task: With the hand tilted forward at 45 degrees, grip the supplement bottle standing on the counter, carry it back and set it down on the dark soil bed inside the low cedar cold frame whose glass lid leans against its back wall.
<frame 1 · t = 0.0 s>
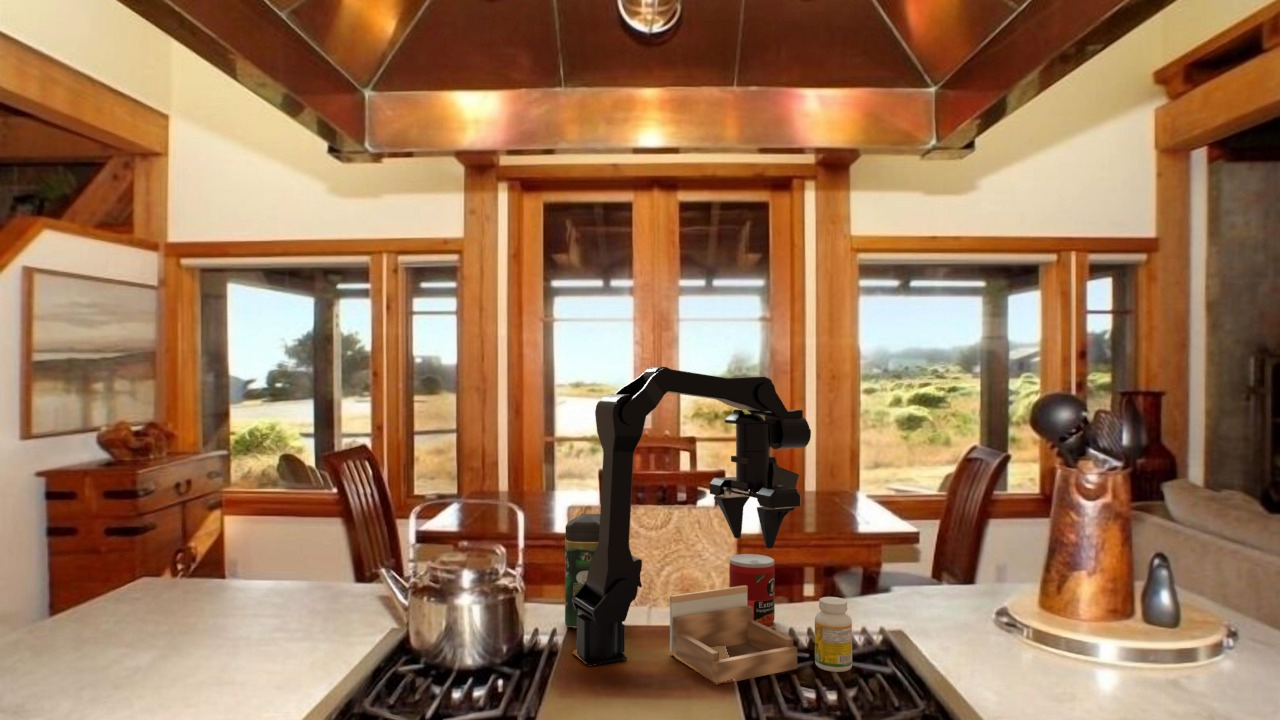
hand: (753, 542, 128), 15 cm above the countertop, fingers open, 9 cm apart
coffee jar: (587, 624, 131), on the countertop
lid panel: (709, 648, 119), on the countertop
cold frame: (734, 662, 113), on the countertop
supplement bottle: (833, 667, 112), on the countertop
canned food: (751, 623, 132), on the countertop
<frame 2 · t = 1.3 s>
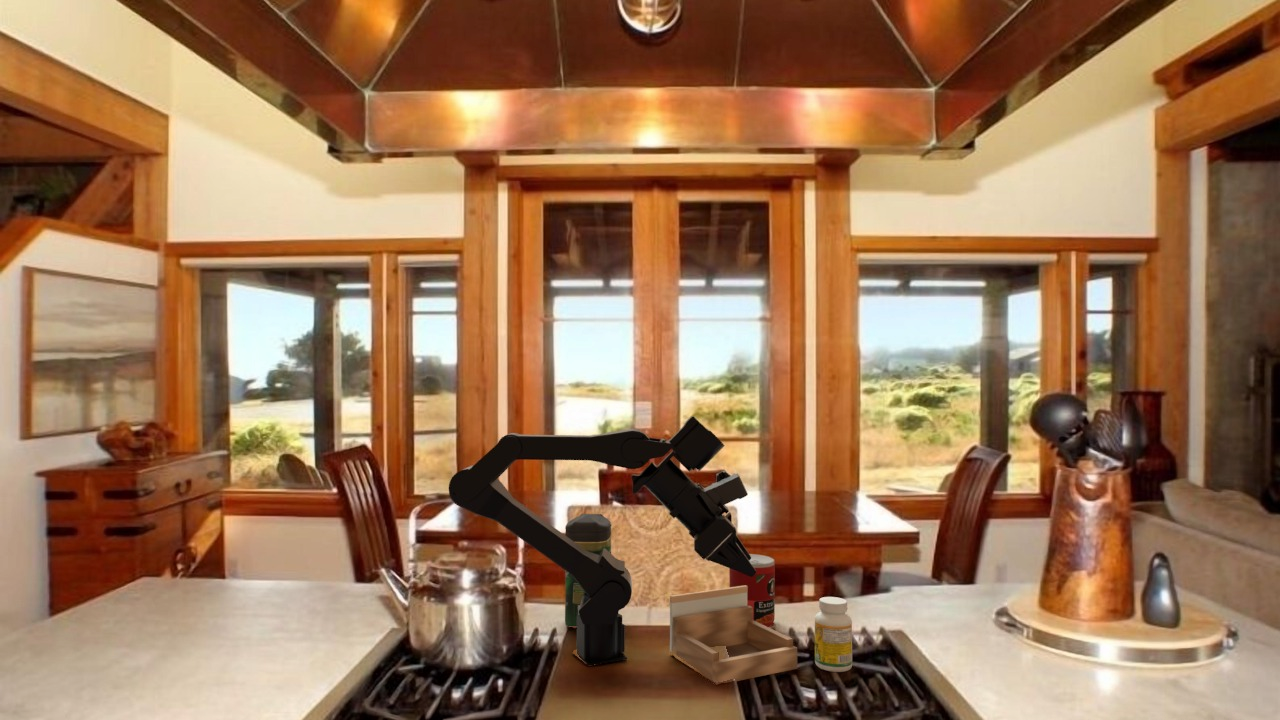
hand: (751, 567, 114), 14 cm above the countertop, fingers open, 9 cm apart
nothing on the countertop moved.
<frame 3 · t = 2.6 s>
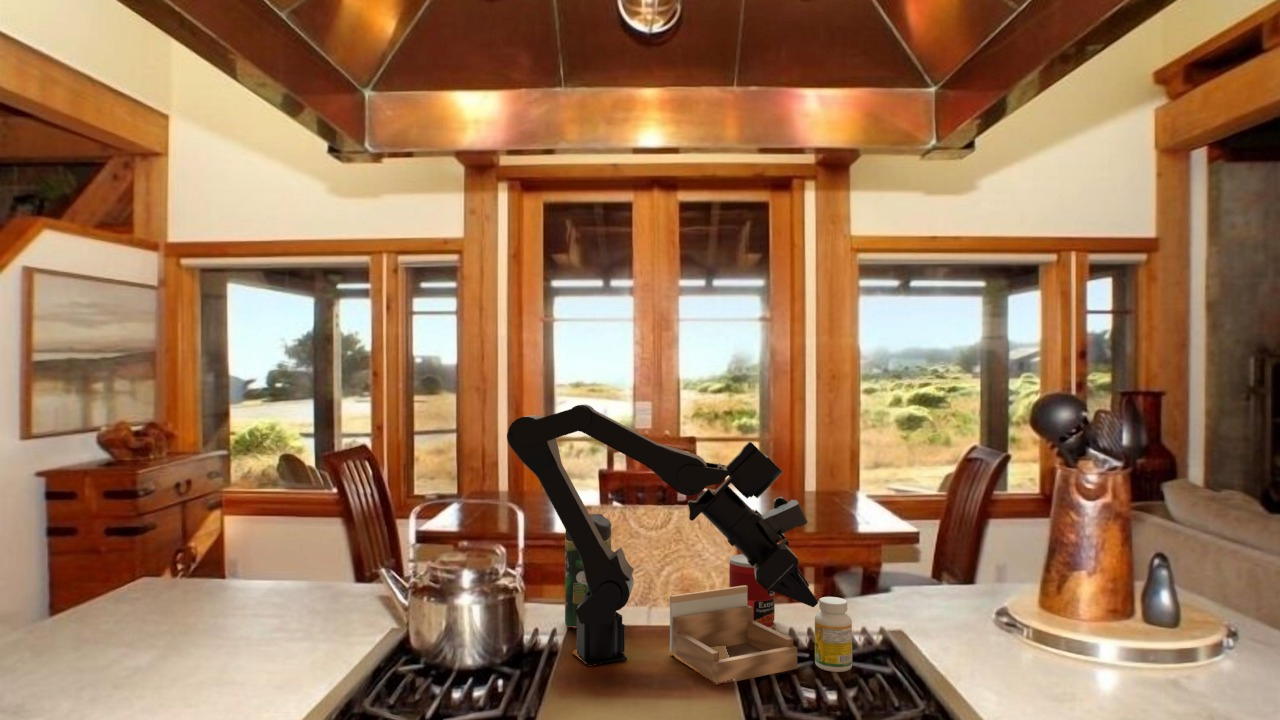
hand: (811, 595, 112), 10 cm above the countertop, fingers open, 9 cm apart
nothing on the countertop moved.
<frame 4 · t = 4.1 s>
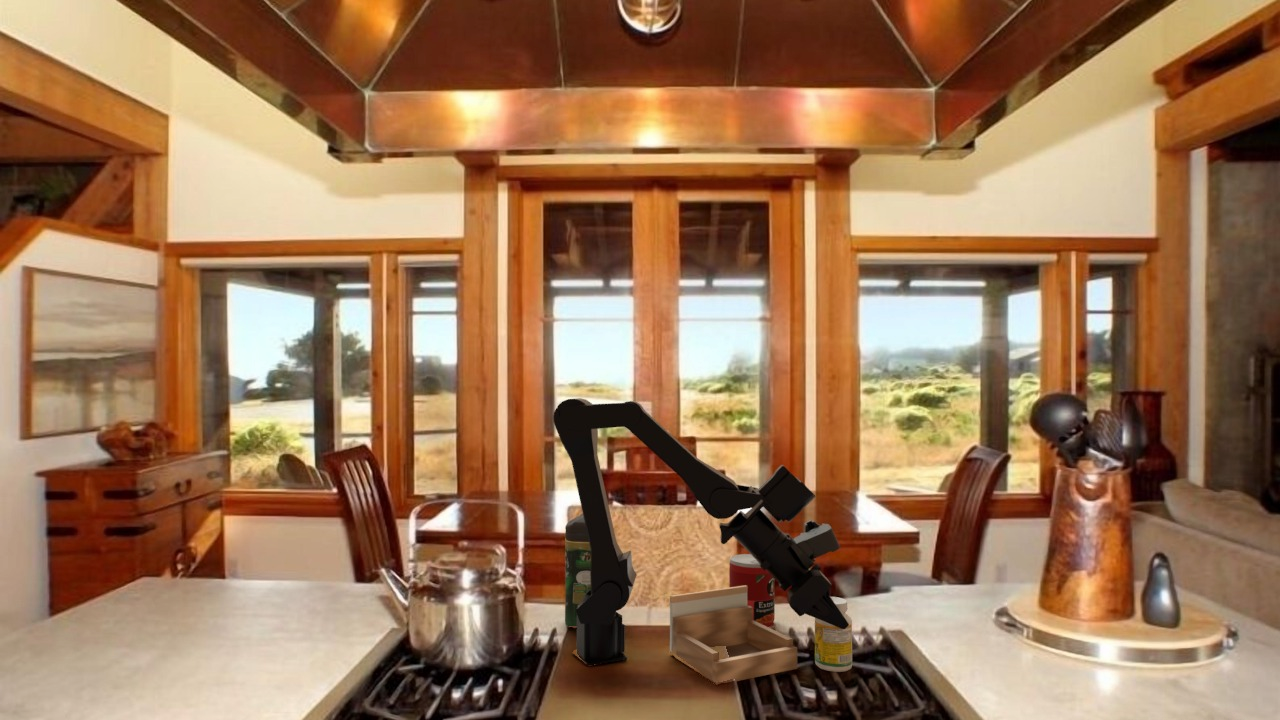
hand: (842, 620, 112), 7 cm above the countertop, fingers closed on supplement bottle, 5 cm apart
supplement bottle: (833, 667, 112), on the countertop, touching gripper
everything else where it was.
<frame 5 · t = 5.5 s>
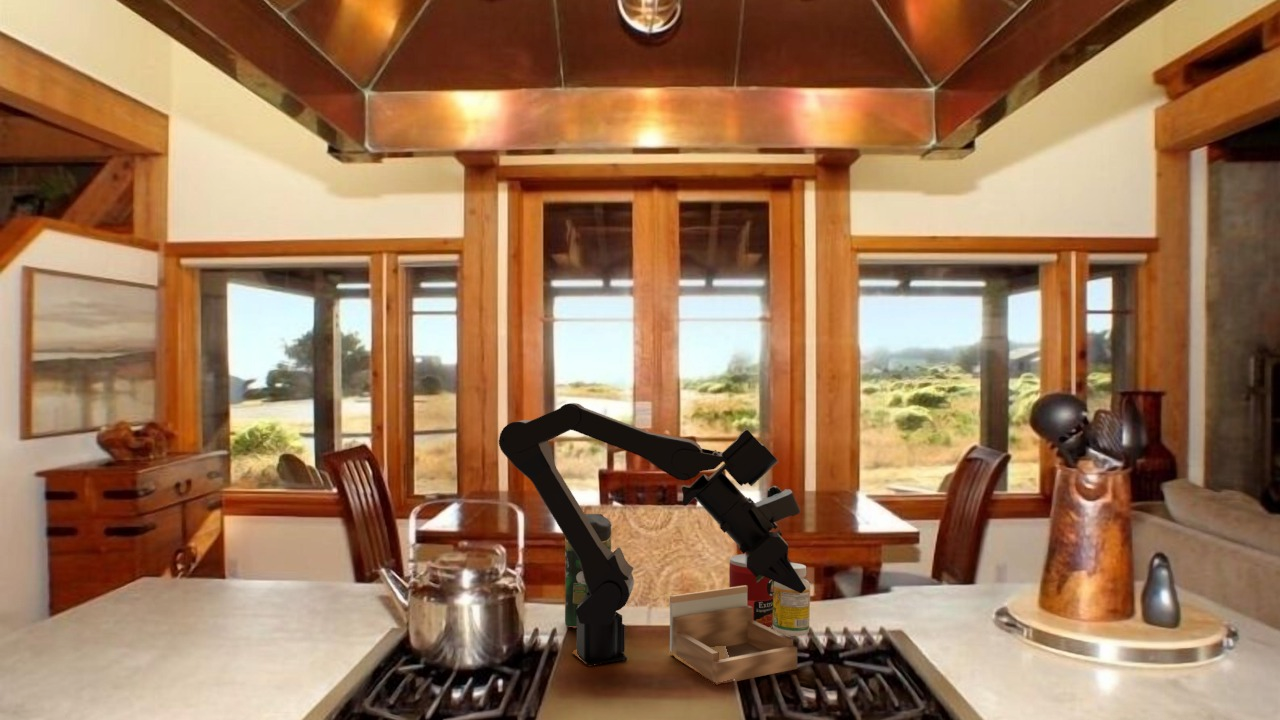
hand: (801, 585, 112), 12 cm above the countertop, fingers closed on supplement bottle, 5 cm apart
supplement bottle: (790, 632, 112), point 5 cm above the countertop, touching gripper
everything else where it was.
when the fingers open (8 cm above the countertop, at t = 7.1 s): supplement bottle stays where it is, resting on cold frame.
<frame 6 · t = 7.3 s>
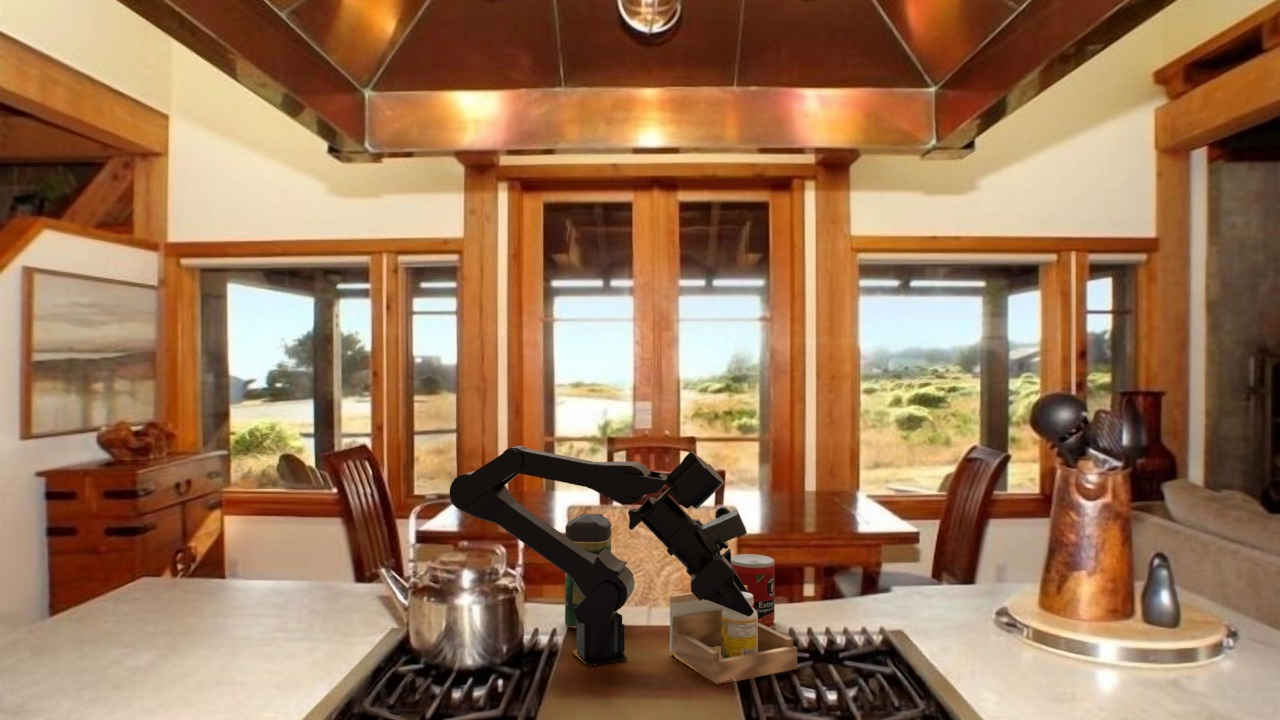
hand: (750, 606, 112), 9 cm above the countertop, fingers open, 7 cm apart
supplement bottle: (739, 661, 112), resting on cold frame
everything else where it was.
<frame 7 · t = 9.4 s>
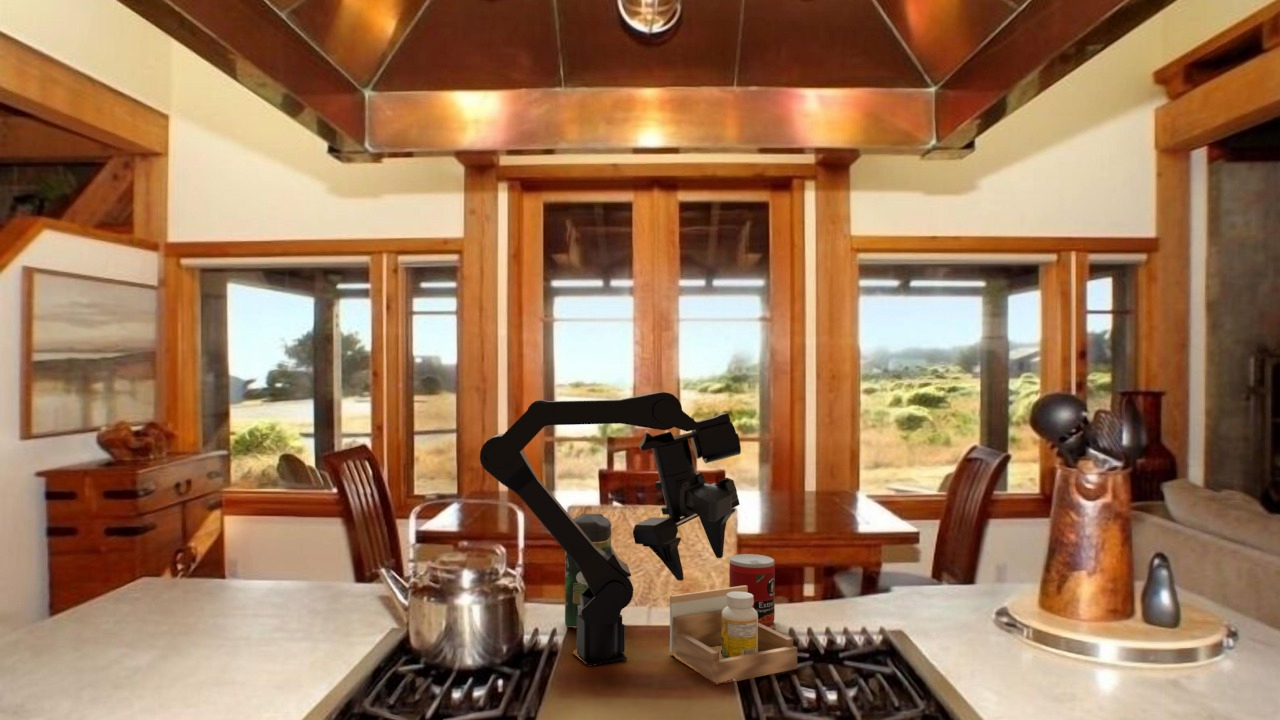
hand: (700, 568, 117), 13 cm above the countertop, fingers open, 9 cm apart
nothing on the countertop moved.
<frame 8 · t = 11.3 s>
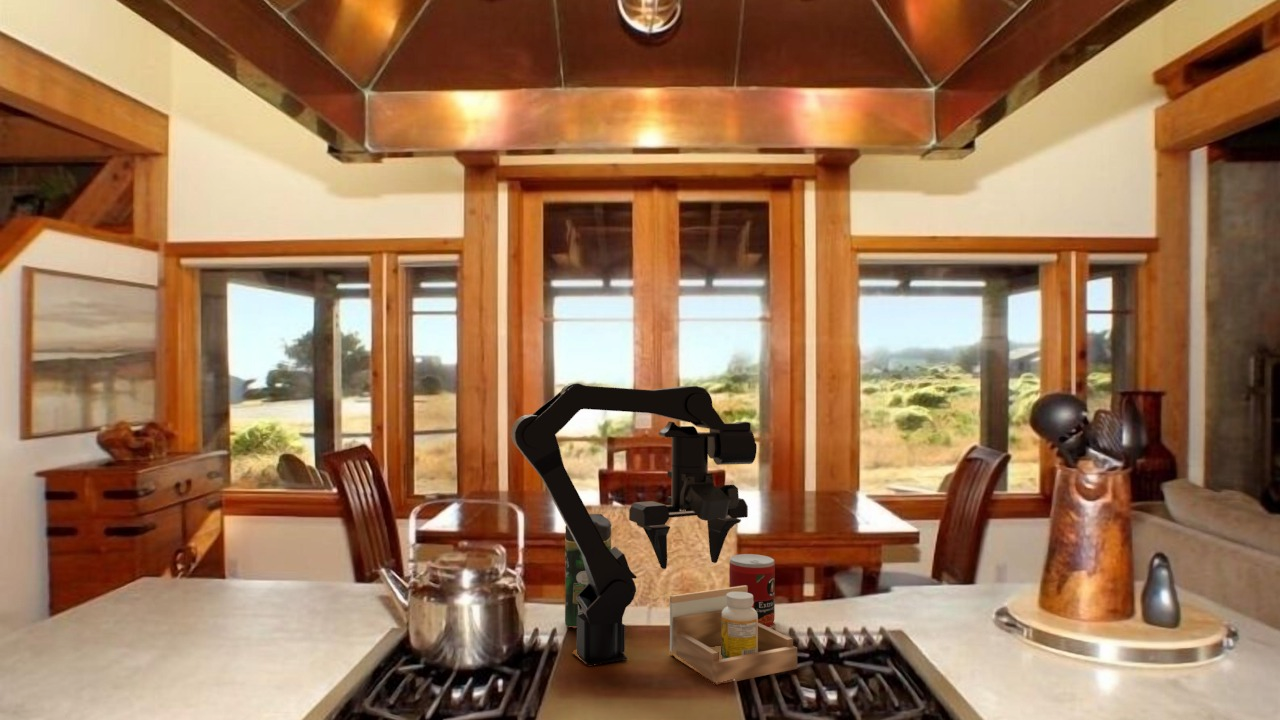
hand: (689, 565, 119), 13 cm above the countertop, fingers open, 9 cm apart
nothing on the countertop moved.
at the end: supplement bottle inside the target area on the cold frame (0.9 cm from its centre), point 0.4 cm above the cold frame's base; supplement bottle tilted 0°; the gripper is holding nothing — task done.
